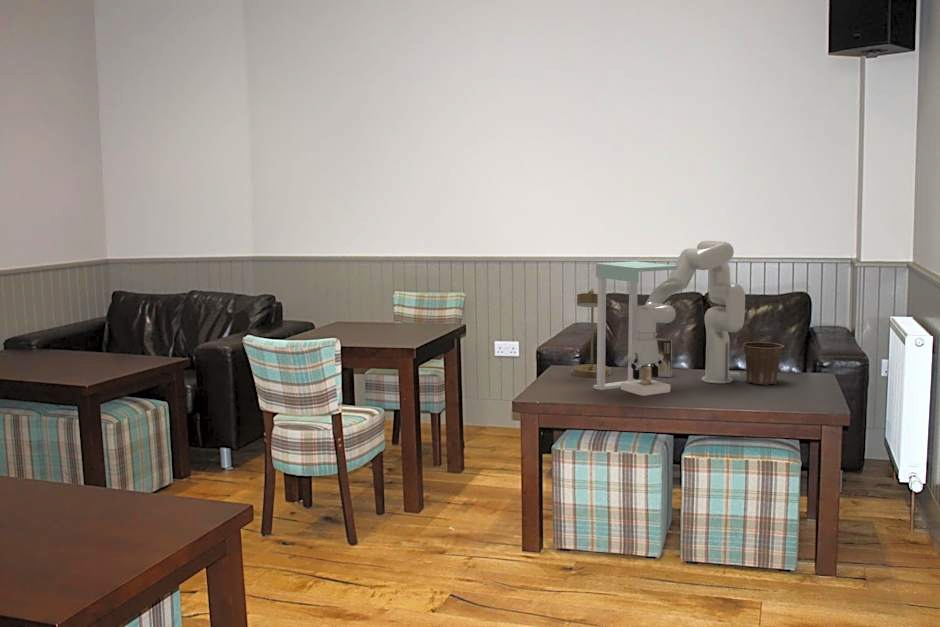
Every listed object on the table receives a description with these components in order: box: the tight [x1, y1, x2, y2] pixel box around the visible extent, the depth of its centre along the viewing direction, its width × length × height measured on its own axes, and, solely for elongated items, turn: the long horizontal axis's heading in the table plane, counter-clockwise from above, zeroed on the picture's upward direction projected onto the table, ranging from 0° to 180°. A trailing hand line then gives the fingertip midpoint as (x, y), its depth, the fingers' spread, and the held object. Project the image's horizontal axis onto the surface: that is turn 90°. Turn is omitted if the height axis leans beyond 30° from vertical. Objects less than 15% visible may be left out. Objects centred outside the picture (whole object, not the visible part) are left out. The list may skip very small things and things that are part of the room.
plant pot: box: [742, 341, 784, 386], centre depth 407 cm, size 16×16×16 cm
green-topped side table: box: [592, 260, 677, 391], centre depth 389 cm, size 20×27×52 cm
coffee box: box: [649, 337, 673, 378], centre depth 424 cm, size 9×6×16 cm
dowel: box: [640, 365, 652, 385], centre depth 393 cm, size 4×4×10 cm
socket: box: [620, 379, 671, 397], centre depth 394 cm, size 14×14×3 cm
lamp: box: [571, 288, 611, 378], centre depth 423 cm, size 17×27×38 cm, turn 169°
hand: (645, 377), depth 393 cm, fingers open, 9 cm apart
